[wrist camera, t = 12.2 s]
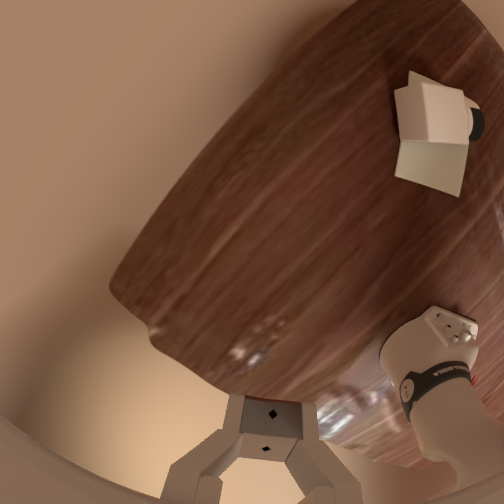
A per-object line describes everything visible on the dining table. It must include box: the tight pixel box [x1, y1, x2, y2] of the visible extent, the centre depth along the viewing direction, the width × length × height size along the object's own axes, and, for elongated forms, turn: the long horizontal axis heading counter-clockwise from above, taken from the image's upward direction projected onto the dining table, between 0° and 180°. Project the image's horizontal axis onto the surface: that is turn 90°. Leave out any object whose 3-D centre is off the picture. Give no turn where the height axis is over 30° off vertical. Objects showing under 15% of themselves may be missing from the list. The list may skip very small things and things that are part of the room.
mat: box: [394, 71, 472, 197], centre depth 31 cm, size 12×16×1 cm
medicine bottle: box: [394, 82, 484, 145], centre depth 27 cm, size 7×7×12 cm
